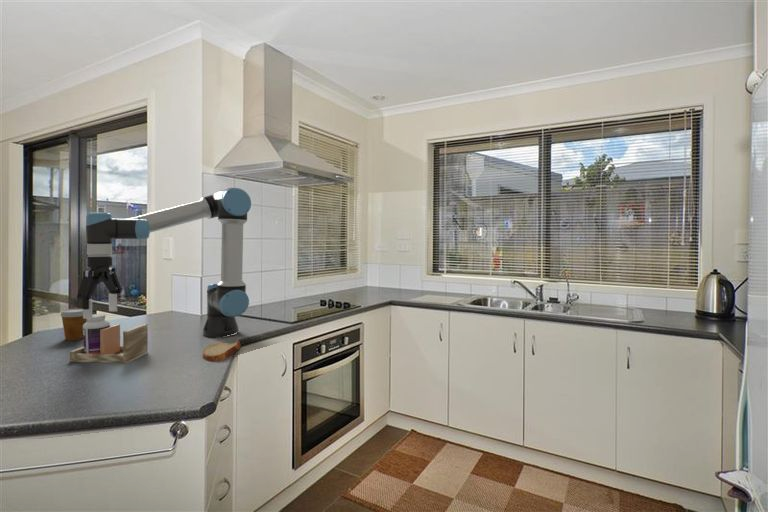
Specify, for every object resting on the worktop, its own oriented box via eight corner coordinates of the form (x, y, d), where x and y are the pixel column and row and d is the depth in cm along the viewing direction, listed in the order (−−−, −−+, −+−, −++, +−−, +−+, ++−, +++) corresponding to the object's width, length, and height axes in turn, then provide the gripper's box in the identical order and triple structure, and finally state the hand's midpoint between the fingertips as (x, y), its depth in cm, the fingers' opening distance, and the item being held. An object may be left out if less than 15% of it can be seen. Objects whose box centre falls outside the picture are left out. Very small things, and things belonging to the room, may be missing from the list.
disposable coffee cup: (94, 337, 180) (93, 309, 179) (71, 342, 171) (70, 313, 170) (78, 335, 183) (78, 307, 182) (54, 340, 174) (54, 311, 173)
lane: (147, 353, 158) (147, 324, 158) (127, 362, 146) (127, 331, 145) (94, 351, 158) (94, 322, 158) (69, 361, 146) (69, 330, 145)
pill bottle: (116, 352, 155) (115, 313, 154) (97, 359, 147) (96, 318, 146) (97, 350, 156) (96, 312, 155) (78, 357, 149) (76, 317, 148)
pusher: (120, 351, 156) (120, 324, 156) (103, 358, 147) (103, 329, 147) (117, 350, 156) (116, 324, 156) (100, 358, 147) (100, 329, 147)
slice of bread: (212, 363, 148) (212, 353, 148) (189, 353, 160) (189, 343, 160) (257, 354, 162) (257, 344, 161) (233, 345, 173) (233, 336, 173)
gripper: (111, 253, 163) (112, 308, 164) (62, 257, 138) (64, 321, 139) (131, 254, 163) (132, 308, 164) (85, 257, 138) (87, 322, 139)
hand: (101, 314), depth 151 cm, fingers open, 13 cm apart
